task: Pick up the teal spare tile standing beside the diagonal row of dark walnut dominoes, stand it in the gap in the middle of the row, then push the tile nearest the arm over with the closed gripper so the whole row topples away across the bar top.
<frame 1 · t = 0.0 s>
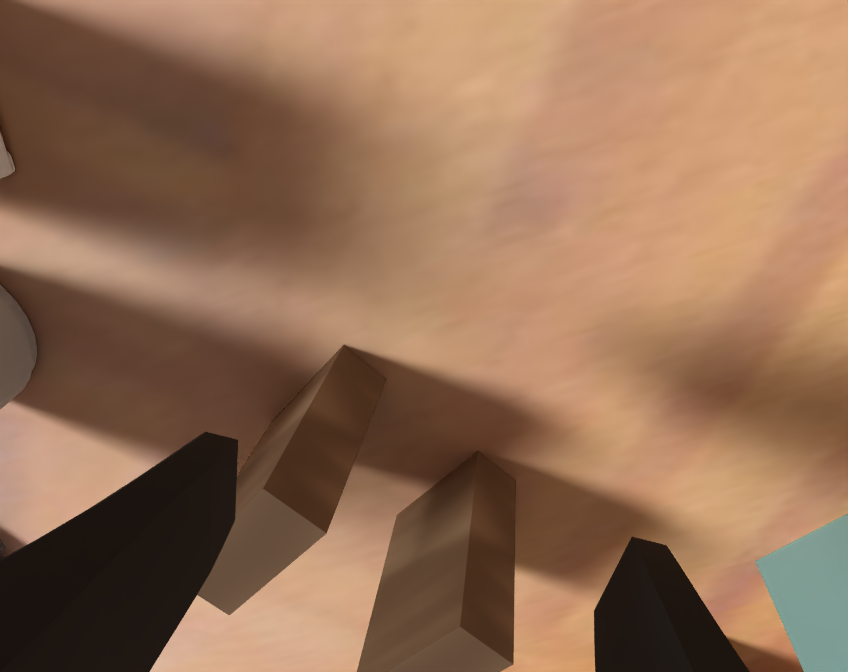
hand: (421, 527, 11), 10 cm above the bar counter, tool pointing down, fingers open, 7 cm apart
domino 5: (326, 401, 22), on the bar counter
domino 4: (454, 498, 24), on the bar counter
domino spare: (831, 545, 22), on the bar counter
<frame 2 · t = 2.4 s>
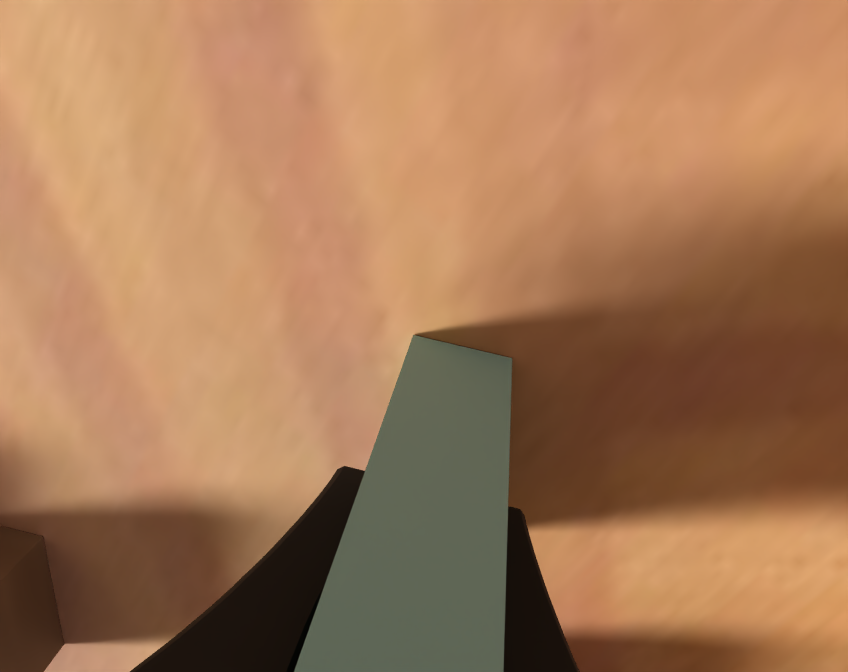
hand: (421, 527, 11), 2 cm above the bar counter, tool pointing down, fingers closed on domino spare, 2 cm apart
domino 4: (22, 585, 18), on the bar counter
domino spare: (438, 443, 13), on the bar counter, touching gripper
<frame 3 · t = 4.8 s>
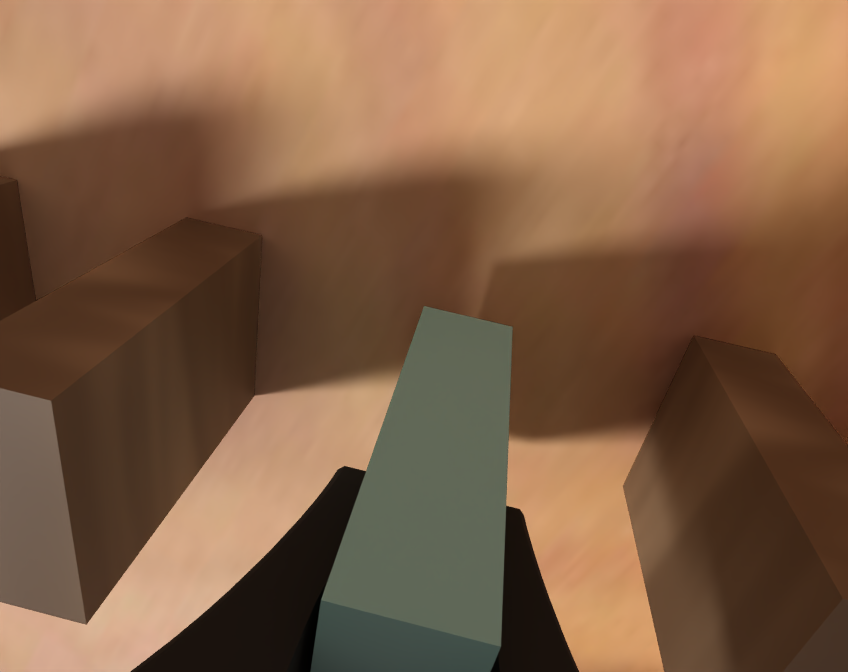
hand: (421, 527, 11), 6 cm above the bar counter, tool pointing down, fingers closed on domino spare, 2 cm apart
domino 2: (693, 425, 15), on the bar counter
domino 4: (222, 313, 16), on the bar counter
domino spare: (445, 406, 14), point 2 cm above the bar counter, touching gripper
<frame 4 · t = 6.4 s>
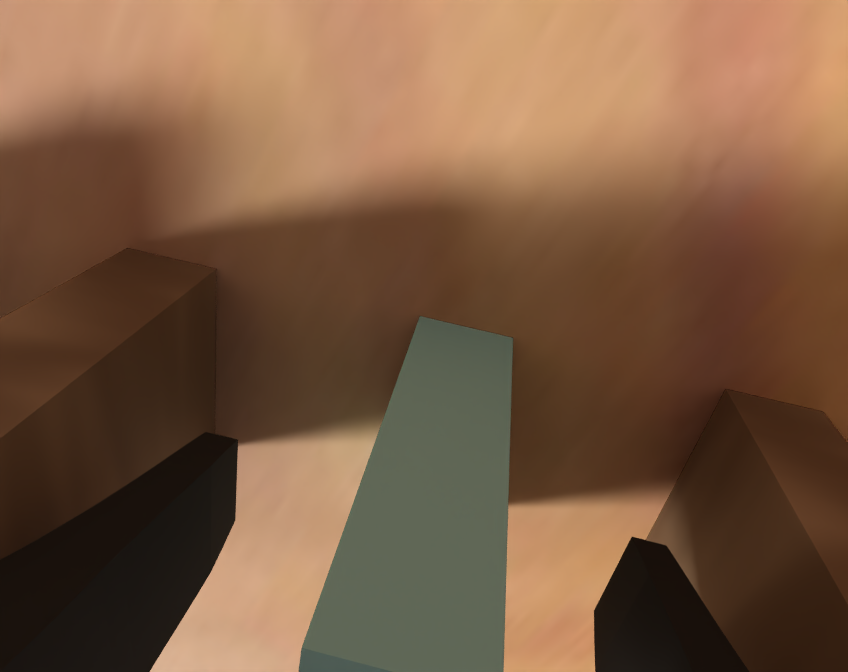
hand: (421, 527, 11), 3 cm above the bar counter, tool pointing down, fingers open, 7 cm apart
domino 2: (722, 489, 13), on the bar counter
domino 4: (174, 356, 14), on the bar counter
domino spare: (442, 420, 13), on the bar counter
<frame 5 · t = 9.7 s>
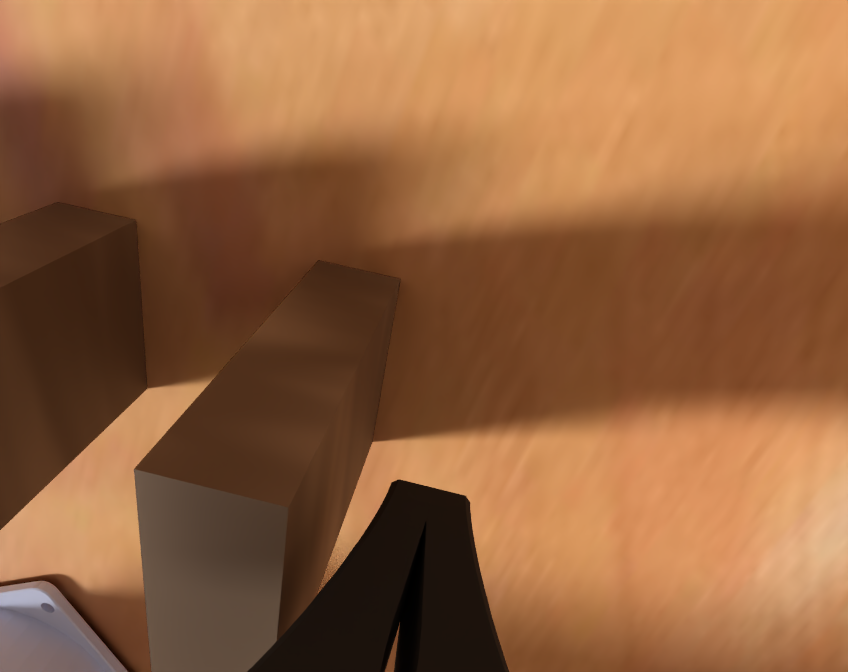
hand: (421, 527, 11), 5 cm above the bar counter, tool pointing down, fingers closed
domino 2: (105, 302, 15), on the bar counter
domino 1: (347, 358, 15), on the bar counter
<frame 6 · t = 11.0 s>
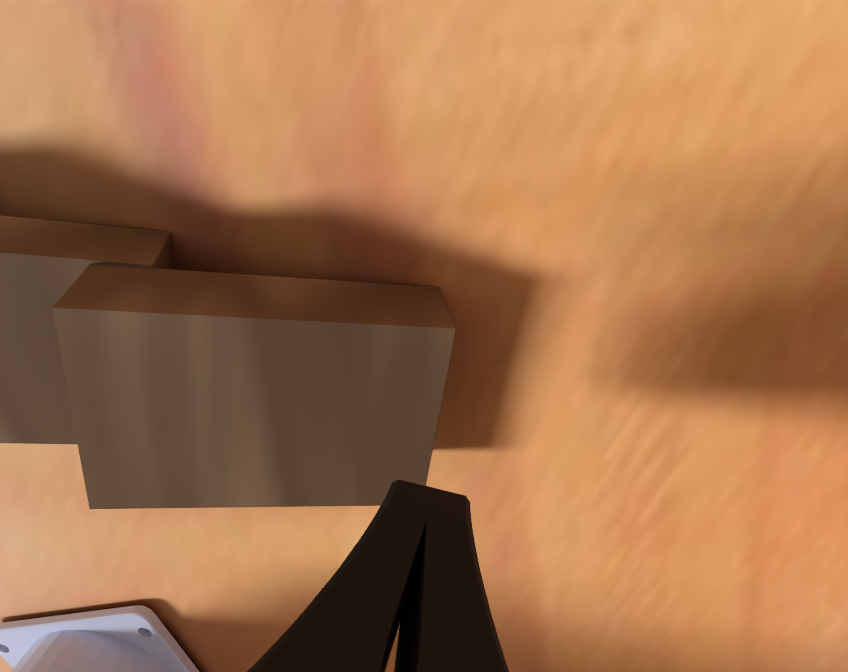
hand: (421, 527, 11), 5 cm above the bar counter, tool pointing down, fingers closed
domino 2: (166, 341, 14), point 1 cm above the bar counter, tilted 71°, touching domino 1, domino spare
domino 1: (430, 398, 14), point 1 cm above the bar counter, tilted 73°, touching domino 2
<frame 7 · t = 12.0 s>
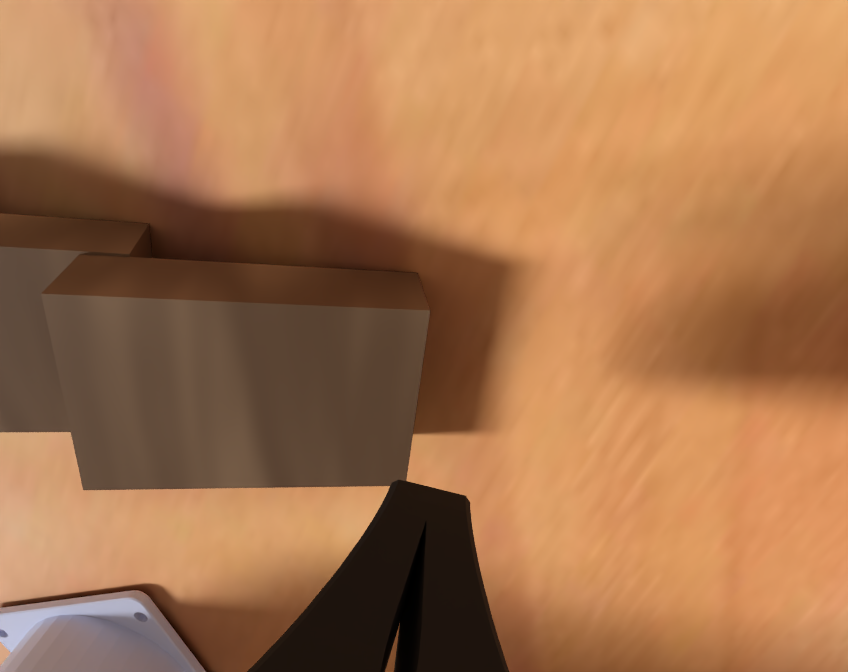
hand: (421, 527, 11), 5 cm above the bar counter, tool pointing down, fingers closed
domino 2: (149, 330, 15), point 1 cm above the bar counter, tilted 71°, touching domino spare
domino 1: (411, 381, 14), point 1 cm above the bar counter, tilted 73°
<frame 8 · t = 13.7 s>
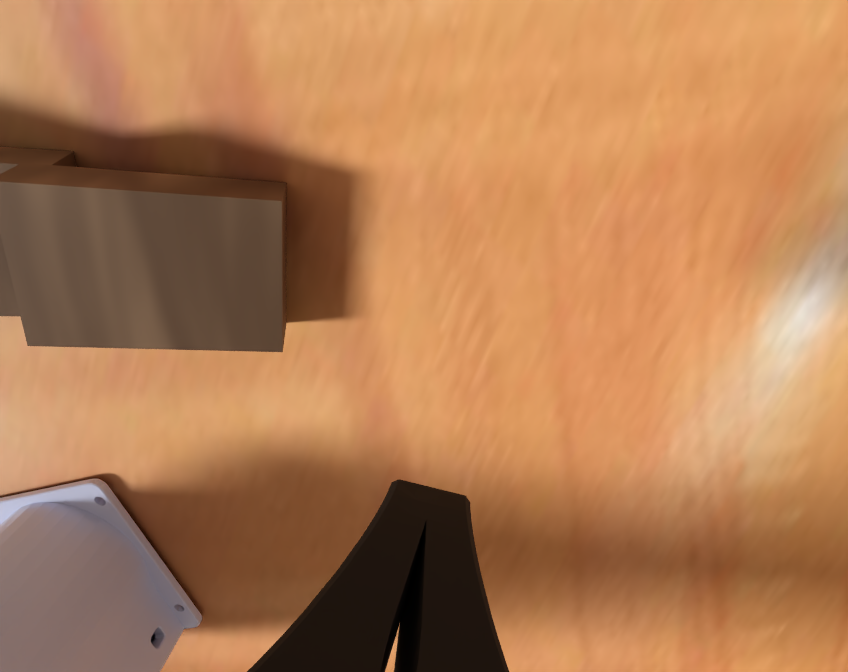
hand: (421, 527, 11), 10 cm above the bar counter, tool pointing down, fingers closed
domino 2: (77, 235, 19), point 1 cm above the bar counter, tilted 72°, touching domino 1, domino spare
domino 1: (284, 268, 19), point 1 cm above the bar counter, tilted 73°, touching domino 2
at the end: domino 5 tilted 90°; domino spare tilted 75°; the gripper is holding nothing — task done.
